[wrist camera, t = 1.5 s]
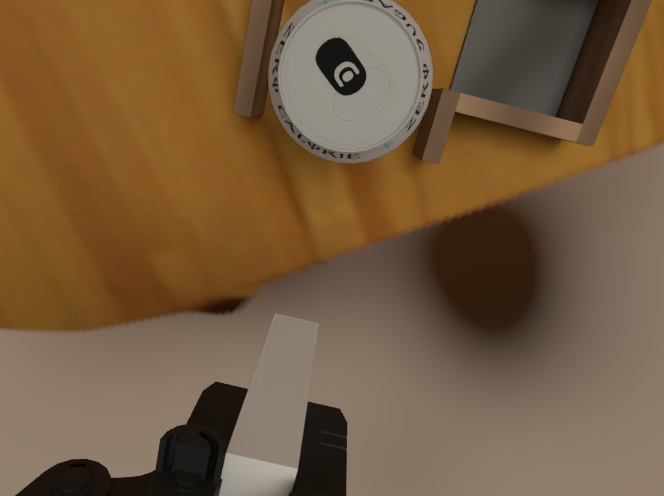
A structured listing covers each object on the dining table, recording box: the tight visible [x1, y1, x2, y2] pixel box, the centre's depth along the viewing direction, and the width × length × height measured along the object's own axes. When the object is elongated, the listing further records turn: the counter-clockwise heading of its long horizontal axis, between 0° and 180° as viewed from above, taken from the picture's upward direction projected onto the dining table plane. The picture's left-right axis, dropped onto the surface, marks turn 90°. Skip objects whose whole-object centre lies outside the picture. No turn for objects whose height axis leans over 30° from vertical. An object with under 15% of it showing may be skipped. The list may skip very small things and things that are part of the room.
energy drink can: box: [268, 0, 433, 163], centre depth 23 cm, size 6×6×15 cm
